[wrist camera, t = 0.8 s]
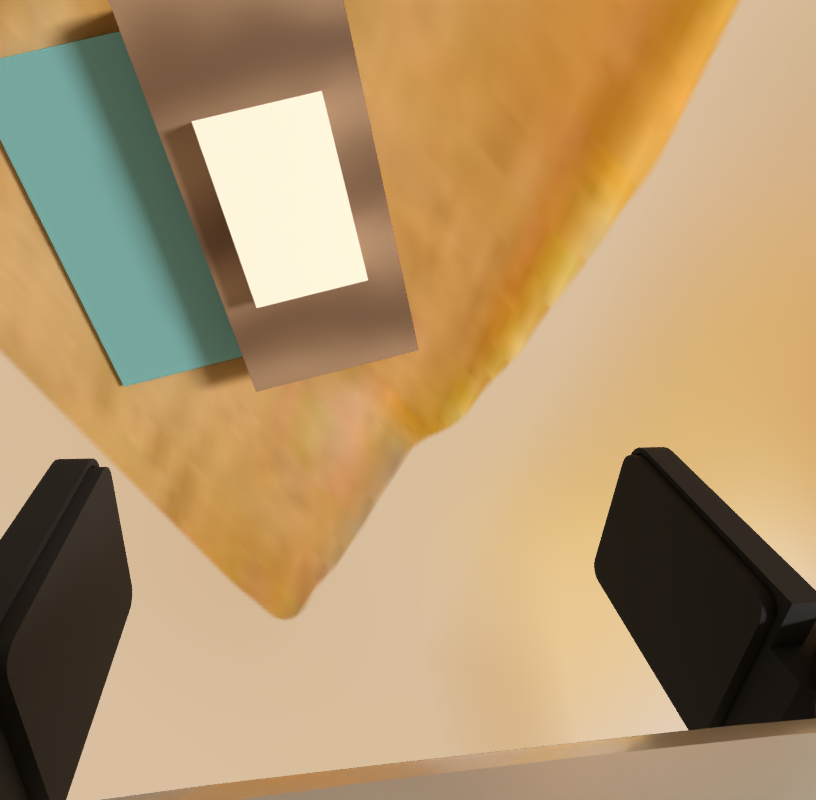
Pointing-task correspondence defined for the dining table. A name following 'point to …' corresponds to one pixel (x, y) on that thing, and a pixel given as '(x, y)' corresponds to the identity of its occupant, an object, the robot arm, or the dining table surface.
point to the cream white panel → (283, 197)
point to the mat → (113, 206)
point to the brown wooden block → (172, 113)
